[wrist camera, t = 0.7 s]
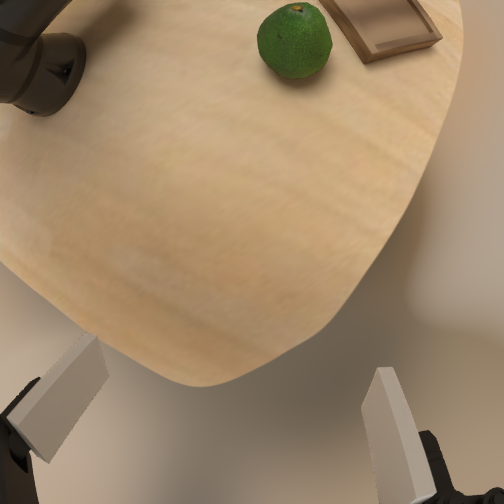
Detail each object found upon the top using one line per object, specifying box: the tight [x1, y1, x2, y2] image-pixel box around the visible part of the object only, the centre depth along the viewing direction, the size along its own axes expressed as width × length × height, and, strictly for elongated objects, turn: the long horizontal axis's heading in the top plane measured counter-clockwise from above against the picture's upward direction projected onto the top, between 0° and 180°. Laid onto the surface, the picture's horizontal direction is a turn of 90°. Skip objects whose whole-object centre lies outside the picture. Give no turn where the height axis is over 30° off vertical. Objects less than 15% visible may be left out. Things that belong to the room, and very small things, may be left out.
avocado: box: [257, 2, 333, 79], centre depth 23 cm, size 8×8×12 cm
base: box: [319, 0, 443, 64], centre depth 23 cm, size 12×12×4 cm
